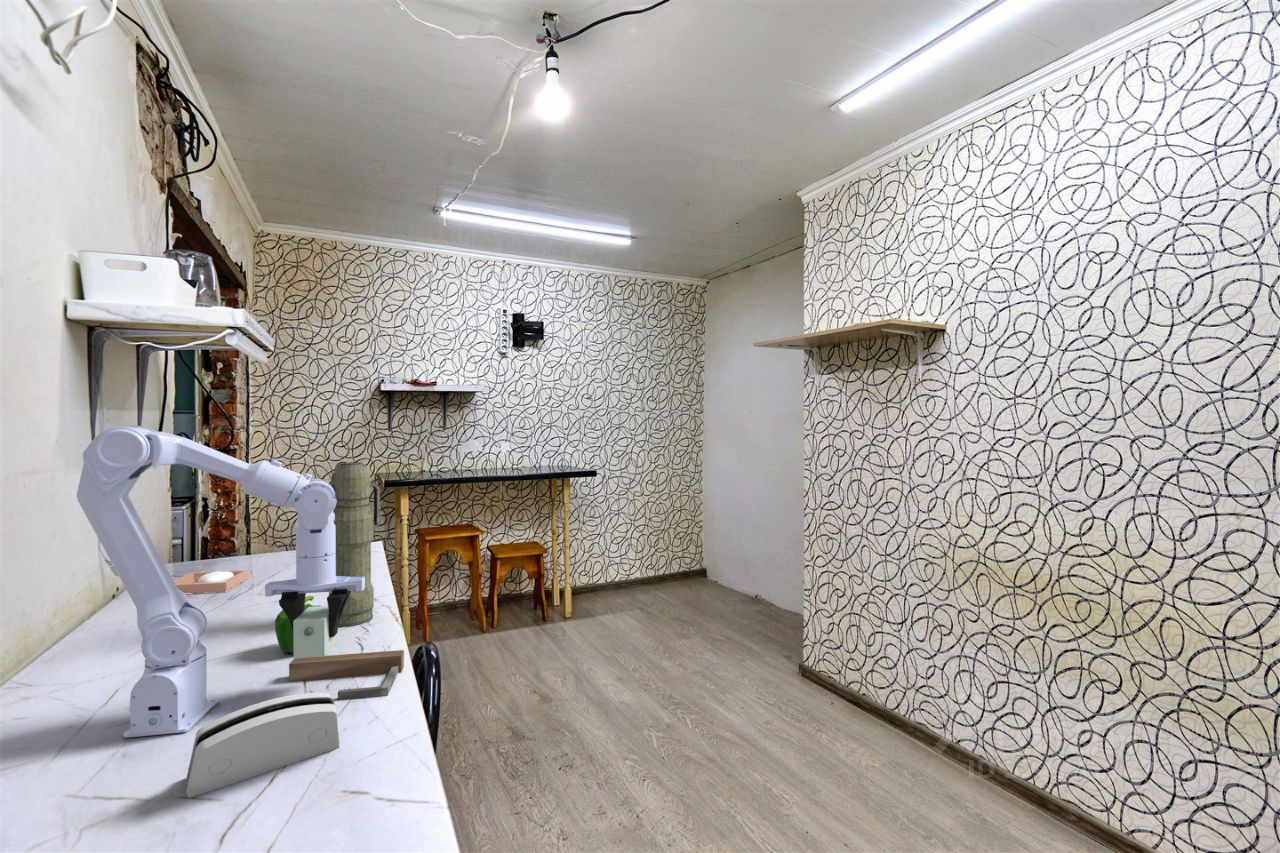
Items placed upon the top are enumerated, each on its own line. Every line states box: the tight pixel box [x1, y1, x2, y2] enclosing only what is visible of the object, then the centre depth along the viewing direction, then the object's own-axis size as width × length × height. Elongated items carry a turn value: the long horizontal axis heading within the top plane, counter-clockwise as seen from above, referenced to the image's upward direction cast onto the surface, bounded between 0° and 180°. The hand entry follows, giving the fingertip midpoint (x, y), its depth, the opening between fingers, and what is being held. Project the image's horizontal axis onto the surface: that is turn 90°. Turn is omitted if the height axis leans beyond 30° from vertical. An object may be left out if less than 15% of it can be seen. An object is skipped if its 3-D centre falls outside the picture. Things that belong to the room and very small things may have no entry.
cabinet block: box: [293, 605, 339, 659], centre depth 95 cm, size 8×4×6 cm, turn 12°
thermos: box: [328, 461, 381, 628], centre depth 129 cm, size 9×12×35 cm
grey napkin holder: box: [185, 692, 340, 799], centre depth 75 cm, size 17×5×10 cm, turn 131°
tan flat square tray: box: [173, 569, 250, 593], centre depth 154 cm, size 13×14×2 cm
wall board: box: [288, 649, 405, 701], centre depth 98 cm, size 11×18×3 cm, turn 102°
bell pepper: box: [274, 595, 322, 654], centre depth 112 cm, size 8×8×10 cm
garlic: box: [196, 570, 234, 583], centre depth 155 cm, size 8×7×4 cm
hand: (316, 636), depth 96 cm, fingers closed on cabinet block, 4 cm apart
